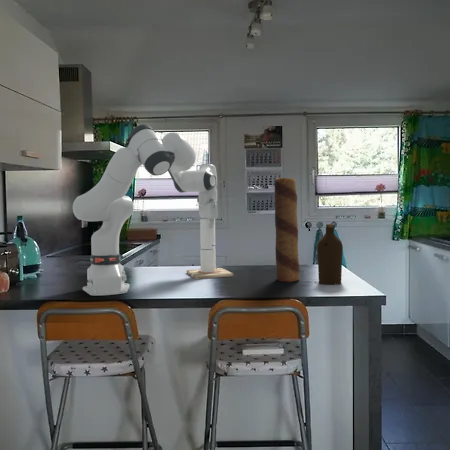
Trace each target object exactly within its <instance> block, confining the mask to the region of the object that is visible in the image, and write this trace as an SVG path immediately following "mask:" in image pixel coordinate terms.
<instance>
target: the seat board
mask: <svg viewBox="0 0 450 450" xmlns="http://www.w3.org/2000/svg"><path fill="white" fill-rule="evenodd" d="M187 273H188V275H189V274H190V275H191V276H190V275H189V276H190V277H191V278H193V277H194V278H193V279H195V280H200V279H201V280H202V279H203V278H204V279H215V278H217V279H218V278H231V277H234V272H230V271H229V270H227V269H225V268H222V267H219V268H218V267H217V268H216V271H215V272H201V268H200V269H199V268H198V269H188V270H187V269H186V274H187Z"/></svg>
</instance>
